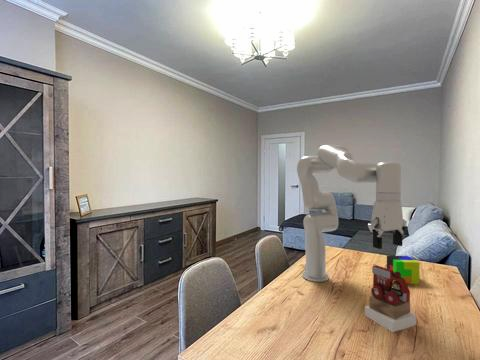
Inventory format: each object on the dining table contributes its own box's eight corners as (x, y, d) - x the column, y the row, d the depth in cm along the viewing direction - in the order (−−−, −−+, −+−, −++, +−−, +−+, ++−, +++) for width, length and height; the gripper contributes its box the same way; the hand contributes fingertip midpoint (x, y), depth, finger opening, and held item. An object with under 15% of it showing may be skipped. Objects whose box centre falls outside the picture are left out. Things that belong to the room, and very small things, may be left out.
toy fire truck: (402, 309, 84) (402, 277, 84) (366, 294, 95) (366, 265, 95) (414, 304, 87) (414, 273, 87) (378, 290, 98) (378, 262, 98)
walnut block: (369, 308, 93) (369, 296, 93) (384, 301, 98) (384, 291, 98) (395, 319, 85) (395, 307, 85) (410, 312, 90) (410, 300, 90)
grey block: (364, 317, 94) (364, 306, 94) (386, 311, 98) (386, 300, 98) (392, 334, 84) (392, 322, 84) (416, 326, 88) (416, 315, 88)
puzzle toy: (407, 275, 132) (407, 256, 131) (419, 284, 122) (419, 262, 122) (386, 275, 133) (386, 255, 132) (396, 283, 123) (396, 261, 123)
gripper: (395, 196, 98) (395, 241, 99) (360, 197, 92) (360, 246, 92) (415, 197, 91) (415, 246, 92) (378, 199, 85) (378, 252, 85)
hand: (387, 246), depth 92 cm, fingers open, 9 cm apart
